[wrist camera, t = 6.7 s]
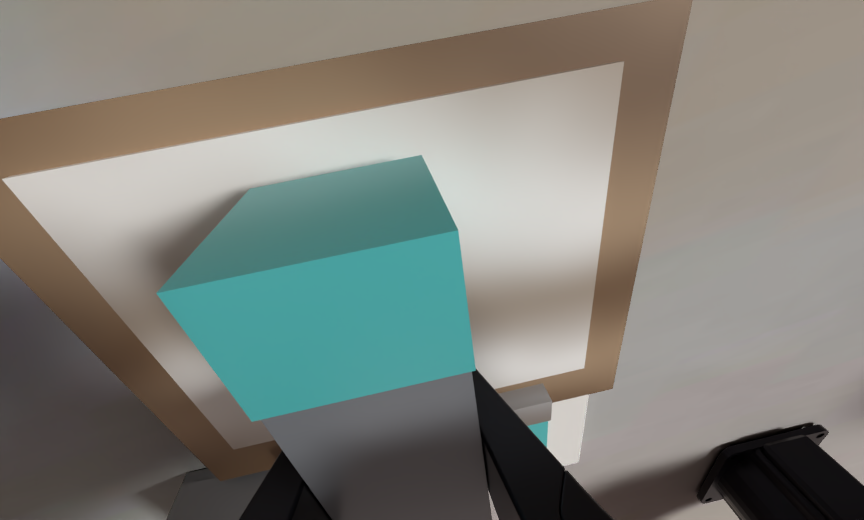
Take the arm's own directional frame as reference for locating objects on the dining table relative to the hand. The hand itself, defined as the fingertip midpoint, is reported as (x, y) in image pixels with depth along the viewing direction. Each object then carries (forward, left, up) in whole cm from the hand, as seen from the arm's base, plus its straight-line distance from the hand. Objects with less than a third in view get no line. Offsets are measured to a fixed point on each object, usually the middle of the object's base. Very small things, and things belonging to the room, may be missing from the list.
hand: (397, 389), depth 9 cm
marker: (+1, 0, -1) cm, 1 cm away
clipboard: (+1, 0, -3) cm, 3 cm away
